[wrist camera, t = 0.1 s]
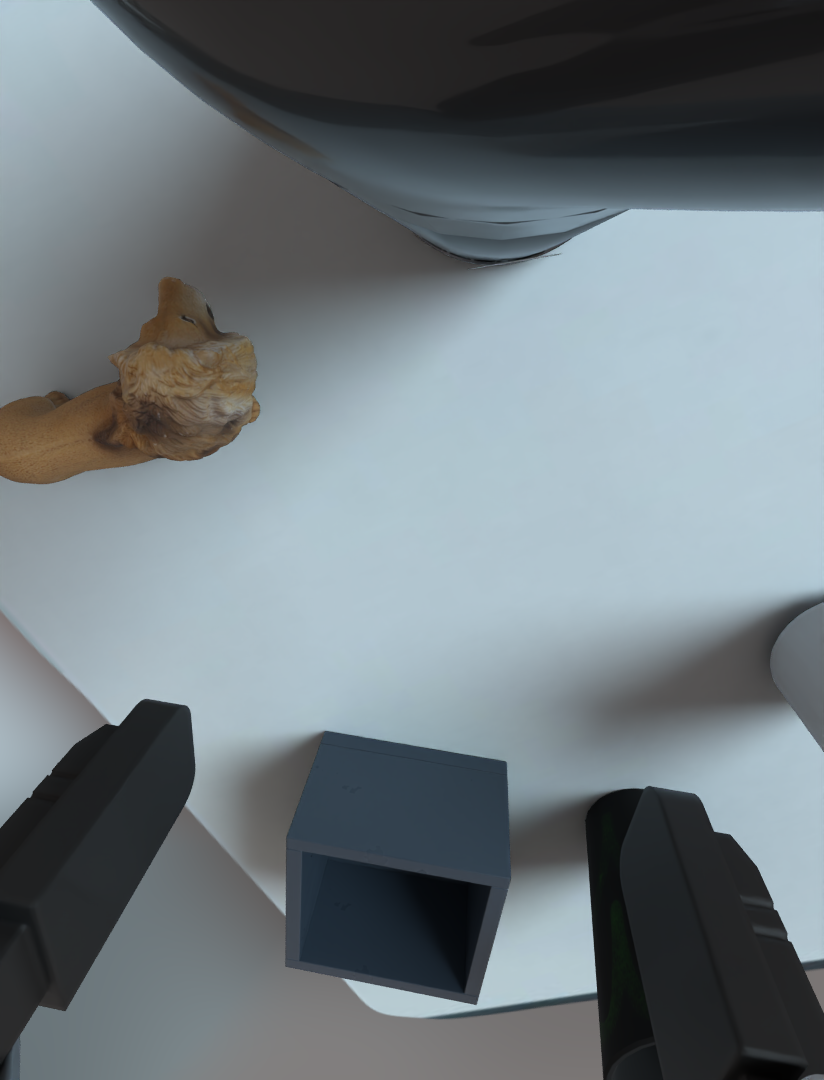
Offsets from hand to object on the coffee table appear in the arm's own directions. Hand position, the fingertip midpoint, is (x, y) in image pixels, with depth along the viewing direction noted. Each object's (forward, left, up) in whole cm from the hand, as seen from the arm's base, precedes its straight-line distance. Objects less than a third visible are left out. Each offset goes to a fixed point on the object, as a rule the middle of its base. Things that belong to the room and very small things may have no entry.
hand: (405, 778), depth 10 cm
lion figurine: (-2, -13, -17) cm, 22 cm away
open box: (+22, 0, -17) cm, 28 cm away
